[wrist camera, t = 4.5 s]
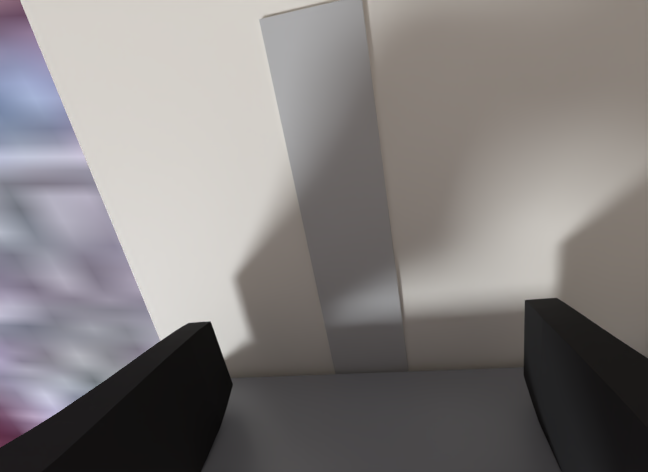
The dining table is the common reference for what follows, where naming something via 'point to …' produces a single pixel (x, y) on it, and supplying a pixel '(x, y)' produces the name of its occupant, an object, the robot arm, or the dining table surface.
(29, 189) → the dining table surface
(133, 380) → the robot arm
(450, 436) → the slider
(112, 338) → the dining table surface
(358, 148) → the switch board
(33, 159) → the dining table surface
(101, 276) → the dining table surface
